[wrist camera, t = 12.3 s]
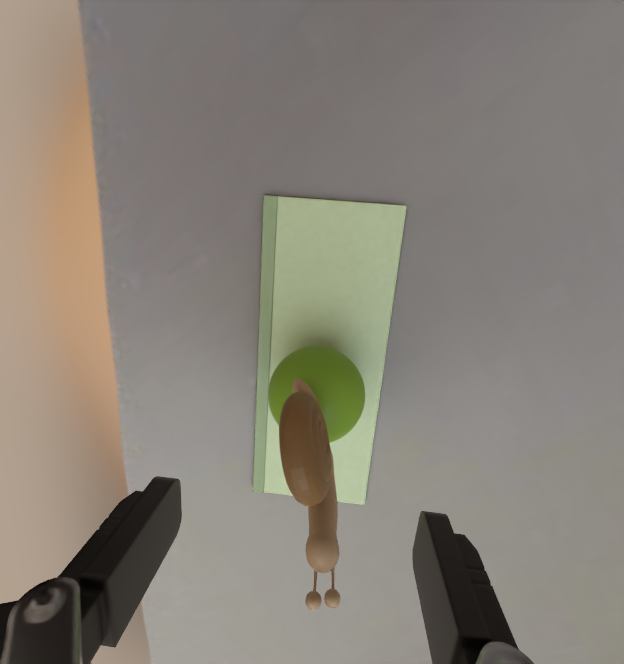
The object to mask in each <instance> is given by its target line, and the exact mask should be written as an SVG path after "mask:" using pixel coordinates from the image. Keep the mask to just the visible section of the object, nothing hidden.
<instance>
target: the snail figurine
mask: <svg viewBox="0 0 624 664" xmlns="http://www.w3.org/2000/svg"><path fill="white" fill-rule="evenodd" d="M268 401H269V407H270V410H271V413H272V416H273V418H274V419H275V421H276V423H277V424H278V426H279V446H280V455H281V462H282V467H283V472H284V476H285V479H286V482H287V485H288V488H289V490H290V492H291V493H292V495H293V497H294V498H295V499H296V500H297V501H298V502H299V503H301V504H303V505H305V506H309V537H308V540H307V543H306V557H307V560H308V562H309V564H310V566H311V567H312V568H313V569H314V589H313V591H311V592H309V593H308V595H307V596H306V605H307V607H308V608H309V609H310V610H317V609H318V608H319V607H320V605H321V596H320V594H319V593H318V592H316V581H317V572H319V573H327V572H329V571H332V589H329V590H328V591H327V592H326V593H325V597H324V600H325V604H326V605H327V606H328V607H329V608H336V607H337V606H338V605H339V603H340V595H339V593H338V591H337V590H335V589H334V567H335V565H336V564H337V561H338V558H339V546H338V541H337V537H336V529H337V494H336V486H335V477H334V462H333V455H332V451H331V448H330V442H333V441H336V440H338V439H340V438H342V437H343V436H345V435H346V434H347V433H348V432H350V431H351V430H352V428H353V427H354V426H355V425H356V423H357V422H358V420H359V418H360V416H361V414H362V411H363V408H364V403H365V387H364V382H363V379H362V376H361V374H360V372H359V370H358V369H357V367H356V366H355V364H354V363H353V362H352V361H351V360H350V359H349V358H348V357H347V356H345V355H344V354H343V353H341V352H339V351H337V350H335V349H332V348H329V347H324V346H309V347H304V348H301V349H298V350H296V351H294V352H292V353H291V354H289V355H288V356H286V357H285V358H284V359H283V360H282V361H281V362H280V363H279V365H278V366H277V367H276V369H275V371H274V373H273V375H272V377H271V380H270V383H269V389H268Z"/></svg>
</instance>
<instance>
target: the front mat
mask: <svg viewBox="0 0 624 664" xmlns="http://www.w3.org/2000/svg"><path fill="white" fill-rule="evenodd" d="M406 209H407V206H404V205H391V204H377V203H364V202H350V201H336V200H323V199H309V198H296V197H282V196H271V195H264V201H263V228H262V256H261V283H260V310H259V337H258V365H257V392H256V419H255V446H254V473H253V492H259V493H264V492H266V493H274V494H282V495H290V496H293V495H292V493H291V492H290V490H289V488H288V485H287V482H286V479H285V476H284V472H283V467H282V462H281V455H280V446H279V426H278V424H277V423H276V421H275V419H274V418H273V416H272V413H271V410H270V407H269V401H268V389H269V383H270V380H271V377H272V375H273V373H274V371H275V369H276V367H277V366H278V365H279V363H280V362H281V361H282V360H283V359H284V358H285V357H286V356H288V355H289V354H291V353H292V352H294V351H296V350H298V349H301V348H304V347H309V346H324V347H329V348H332V349H335V350H337V351H339V352H341V353H343V354H344V355H345V356H347V357H348V358H349V359H350V360H351V361H352V362H353V363H354V364H355V366H356V367H357V369H358V370H359V372H360V374H361V376H362V379H363V382H364V387H365V403H364V408H363V411H362V414H361V416H360V418H359V420H358V422H357V423H356V425H355V426H354V427H353V428H352V430H351V431H350V432H348V433H347V434H346V435H345V436H343V437H342V438H340V439H338V440H336V441H333V442H330V448H331V451H332V455H333V462H334V477H335V486H336V494H337V502H345V503H352V504H360V505H364V504H365V497H366V490H367V483H368V476H369V469H370V462H371V455H372V448H373V441H374V434H375V427H376V419H377V412H378V405H379V398H380V391H381V384H382V377H383V370H384V363H385V356H386V349H387V342H388V335H389V328H390V321H391V314H392V307H393V300H394V293H395V286H396V279H397V272H398V265H399V258H400V251H401V244H402V237H403V230H404V223H405V216H406Z"/></svg>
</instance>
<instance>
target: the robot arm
mask: <svg viewBox="0 0 624 664" xmlns="http://www.w3.org/2000/svg"><path fill="white" fill-rule="evenodd" d="M181 517H182V512H181V486H180V480H179V479H174V478H166V477H158V476H157V477H155V478H153V480H152V481H151V482H150V483H149V485H148V486H147V487H146V489H145V490H144V491H143V492H141V491H135V492H133V493H132V494H131V495H129V496H128V497H126V498H125V499H123V500H122V501H121V502H120V503H119V504H118V505H117V506H116V507H115V509H114V510H113V511H112V512H111V513H110V515H109V517H108V518H107V519H106V520H105V521H104V522H103V523H102V524H101V526H100V528H99V530H97V531H96V532H95V533H94V534H93V535H92V537H91V538H90V539H89V540H88V541H87V543H86V544H85V545H84V546H83V547H82V549H81V550H80V551H79V552H78V554H77V555H76V556H75V557H74V558H73V560H72V561H71V562H70V563H69V564H68V566H67V567H66V568H65V569H64V571H63V572H62V573H61V574H60V575H59V576H58V577H57V578H53V579H50V580H47V581H45V582H43V583H40V584H38V585H37V586H35V587H33V588H32V589H30V590H29V591H28V592H27V593H25V594H24V595H23V596H22V597H21V598H20V599H19V600H18V601H13V602H8V603H2V604H0V664H91V660H92V659H93V657H94V656H95V654H96V652H97V650H98V649H99V647H100V645H103V646H109V647H116V645H117V643H118V641H119V640H120V638H121V636H122V634H123V632H124V630H125V629H126V627H127V625H128V623H129V621H130V619H131V618H132V616H133V614H134V612H135V610H136V609H137V607H138V605H139V603H140V601H141V599H142V598H143V596H144V594H145V592H146V590H147V589H148V587H149V585H150V583H151V581H152V579H153V578H154V576H155V574H156V572H157V570H158V568H159V567H160V565H161V563H162V561H163V559H164V558H165V556H166V554H167V552H168V550H169V548H170V547H171V545H172V543H173V541H174V539H175V537H176V536H177V533H178V531H179V527H180V523H181ZM413 569H414V574H415V579H416V584H417V589H418V594H419V599H420V604H421V609H422V614H423V618H424V623H425V628H426V633H427V638H428V643H429V648H430V653H431V658H432V663H433V664H534V663H533V662H532V661H531V660H530V659H529V658H528V657H527V656H526V655H525V654H524V653H522V652H521V651H520V650H519V649H518V647H517V645H516V643H515V640H514V638H513V636H512V633H511V631H510V628H509V626H508V623H507V621H506V619H505V616H504V614H503V611H502V609H501V607H500V604H499V602H498V599H497V597H496V595H495V592H494V590H493V587H492V586H491V585H490V580H489V578H488V575H487V573H486V571H485V570H484V566H483V563H482V561H481V558H480V556H479V553H478V551H477V550H476V548H475V547H474V546H473V545H472V544H471V542H470V541H469V540H468V539H467V538H466V536H465V535H462V534H454V532H453V530H452V527H451V524H450V521H449V519H448V516H447V515H446V514H441V513H433V512H425V511H422V512H421V513H420V517H419V522H418V527H417V532H416V536H415V541H414V546H413Z"/></svg>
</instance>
